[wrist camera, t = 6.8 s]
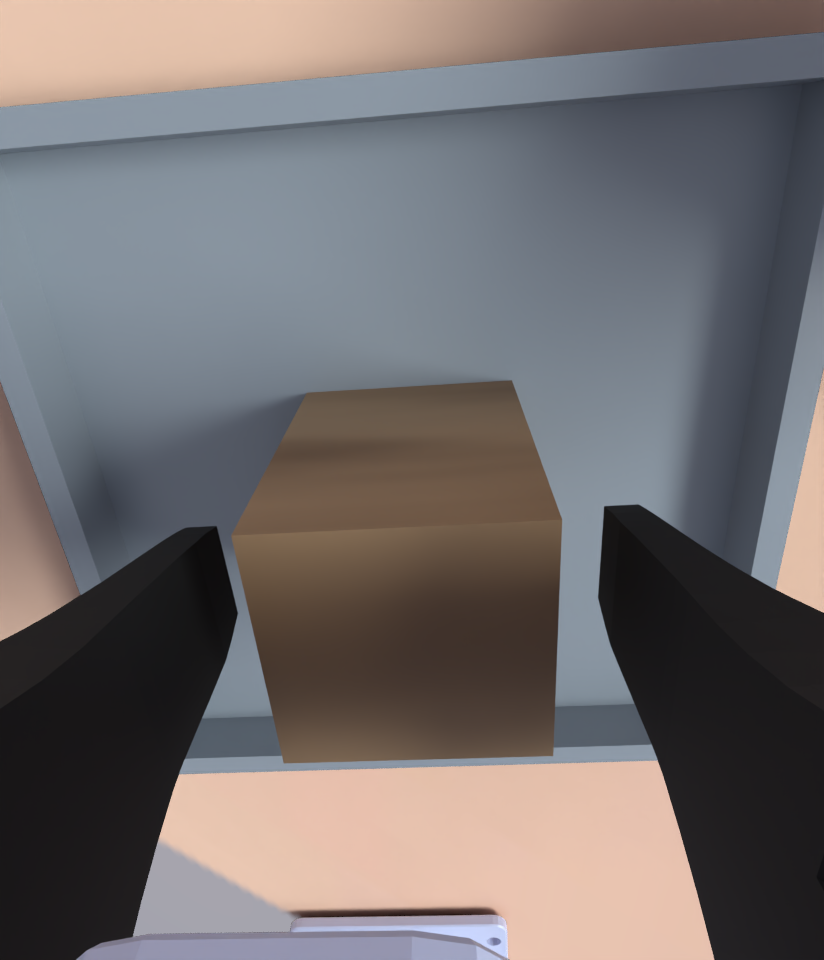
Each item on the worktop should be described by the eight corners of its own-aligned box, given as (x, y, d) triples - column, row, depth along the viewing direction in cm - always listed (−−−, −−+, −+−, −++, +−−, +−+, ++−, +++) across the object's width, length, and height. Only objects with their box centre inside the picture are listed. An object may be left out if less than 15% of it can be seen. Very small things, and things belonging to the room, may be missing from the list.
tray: (708, 700, 19) (738, 758, 17) (173, 718, 20) (148, 774, 18) (826, 45, 12) (898, 24, 10) (-24, 122, 12) (-100, 116, 11)
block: (512, 554, 16) (552, 755, 11) (332, 562, 16) (283, 762, 11) (511, 380, 14) (561, 519, 9) (306, 392, 14) (231, 536, 9)
